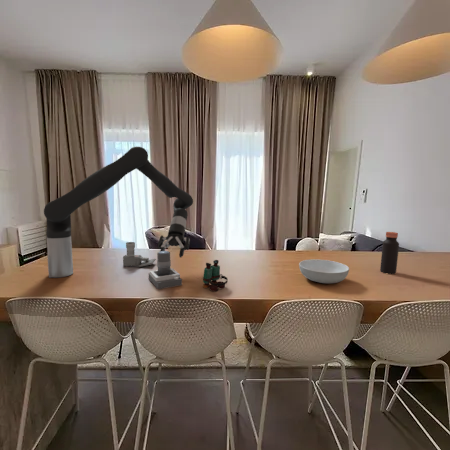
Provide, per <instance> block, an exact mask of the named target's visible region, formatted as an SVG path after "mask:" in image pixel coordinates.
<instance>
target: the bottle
mask: <svg viewBox="0 0 450 450" xmlns="http://www.w3.org/2000/svg"><path fill="white" fill-rule="evenodd" d="M398 237H399V234H398V232H395V231H386V232H385V239H384V240H383V242H382V248H381V249H382V250H381V258H380V268H379V271H380V272H381V273H382V272H384V273H383V274H386V273H388V274H387V275H396V274H395V273H397V267H398V260H399V259H398V258H399V251H400V250H399V249H400V242H399V241H398Z"/></svg>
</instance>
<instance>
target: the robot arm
mask: <svg viewBox="0 0 450 450" xmlns="http://www.w3.org/2000/svg"><path fill="white" fill-rule="evenodd" d="M135 170H138V171H139V172H140V173H142V174H143V175H145V176H146V178H148V179H149V180H150V181H151V182H152V183H153V184H154V185H155V186H156V187H157V188H158V189H159V190H160V191H161V192H162V193H163V194H164V195H165V196H166V197H167V198H169V199H172V198H176V199H175V200H174V202H173V206H172V207H173V214H172V219H171V221H170V225H169V228H168V233H167V235H166V236H164V235H160V236H159V237H160V238H159V240H158V243H157V247H158V249H160V250H159V252H160V251H166V249H167V248H169V247H170V246H171V247H178V246H179V248H180V250H179V254H178V255H179V258H182V257H183V256H184V254H185V251H188V250H189V249H190V243H191V239H190V236H186V237H185V234H186V233H185V232H186V229H187V220H188V211H187V209H188V208H189V207H191V206H192V205H193V204H194V199H193V196H192V195H191V194H189V193H188V192H186V191H185V190H184V189H182V188H180V187H178V186H177V185H176V184H175V183H174V182H173V181H172V180H171V179H170V178H169V177H168V176H167V175H165V174H164V173H163V172H161V171H160V170H158V168H156V167H155V166H154V165H153V164H152V163H151V161H149V154H148V150H147V149H145V147H142V146H139V145H138V146H137V145H136V146H132V147H130V149H129V150H128V151H126V152H125V153H124V154H123V155H122V156H120V157H119V158H118V159H117V160H114V161H113V162H112V163H111V162H110V163H109V164H106V165H105V166H103V167H101V168H100V169H98V170H97V171H95V172H93V173H92V174H90V175H89V176H87V177H86V178H84V179H83V180H82V181H81V182H79V183H78V184H77V185H76V186H75V187H73V189H72V190H70V191H69V192H66V193H65V194H63V195H61V196H60V197H58V198H56V199H53V200H50V201H49V202H48V203H46V204H45V206H44V208H43V215H44V217H45V218H46V232H45V233H46V245H47V268H48V269H47V270H48V272H47V273H48V278H65V277H68V276H71V275H73V274H74V263H73V245H72V244H73V243H72V242H73V241H72V219H71V217H72V216H71V215H72V214H73V213H74V212H75V211H76V210H78V208H80V207H82V206H83V205H84V204H86V203H88V202H90V201H93V200H94V199H95V198H98V197H100V196H101V195H102V194H104V193H105V192H107V191H108V190H109V189H111V188H113V187H114V186H115V185H116V184H117V183H118V182H120V181H121V180H122V179H123V178H124V177H125V176H126V175H127V174H129V173H132V172H133V171H135ZM183 242H185V245H184V244H183Z"/></svg>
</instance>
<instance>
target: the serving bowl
mask: <svg viewBox="0 0 450 450" xmlns="http://www.w3.org/2000/svg"><path fill="white" fill-rule="evenodd" d="M298 266H299V267H298V268H299V270H300V273H301V274H302V276H304V277H305V278H306V279H307V280H310V281H313V282H315V283H316V282H317V283H320V284H336V283H341V282H342V281H343V280H345V279H346V278H347V277H348V275H349V273H350V272H349V271H350V267H349V266H348V265H346V264H345V263H341V262H339V261H333V260H329V259H317V258H315V259H304V260H301V261H300V262H299V263H298Z"/></svg>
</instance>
